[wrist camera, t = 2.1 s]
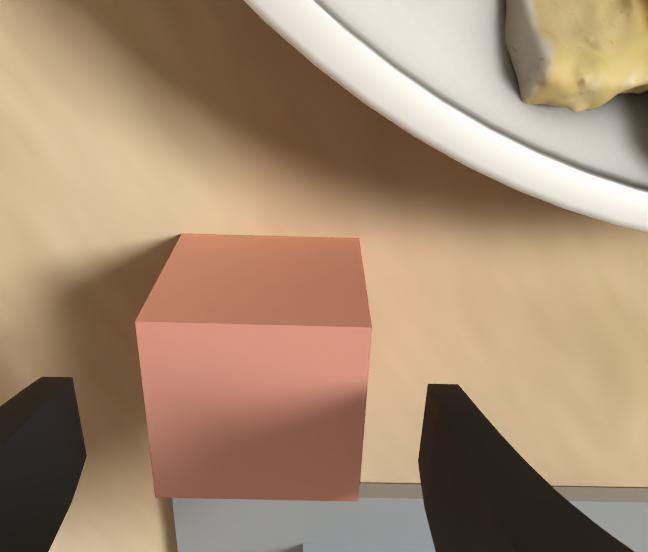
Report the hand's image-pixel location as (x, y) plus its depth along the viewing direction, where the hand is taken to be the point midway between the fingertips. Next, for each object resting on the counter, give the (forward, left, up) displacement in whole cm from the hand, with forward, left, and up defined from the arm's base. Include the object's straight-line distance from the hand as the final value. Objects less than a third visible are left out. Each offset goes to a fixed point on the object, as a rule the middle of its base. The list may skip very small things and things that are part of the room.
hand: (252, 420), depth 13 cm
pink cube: (0, 0, -5) cm, 5 cm away
